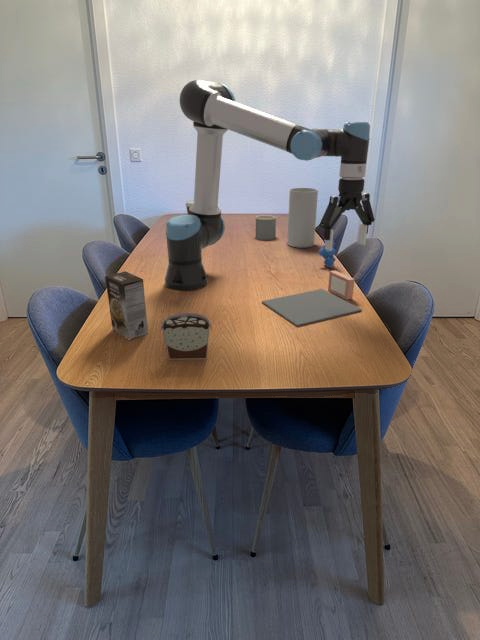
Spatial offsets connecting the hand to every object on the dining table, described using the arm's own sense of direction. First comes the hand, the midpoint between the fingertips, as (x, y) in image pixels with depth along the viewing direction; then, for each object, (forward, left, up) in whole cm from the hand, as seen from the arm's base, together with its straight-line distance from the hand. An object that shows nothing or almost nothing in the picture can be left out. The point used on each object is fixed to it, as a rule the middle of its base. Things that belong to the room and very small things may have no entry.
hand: (345, 247), depth 139 cm
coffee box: (-70, +5, -17) cm, 72 cm away
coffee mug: (+18, +80, -17) cm, 84 cm away
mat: (-15, -4, -16) cm, 23 cm away
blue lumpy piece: (+15, +27, -17) cm, 35 cm away
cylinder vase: (+25, +59, -17) cm, 66 cm away
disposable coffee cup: (-2, +124, -17) cm, 125 cm away
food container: (-60, -14, -17) cm, 64 cm away
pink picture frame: (0, 0, -17) cm, 17 cm away
